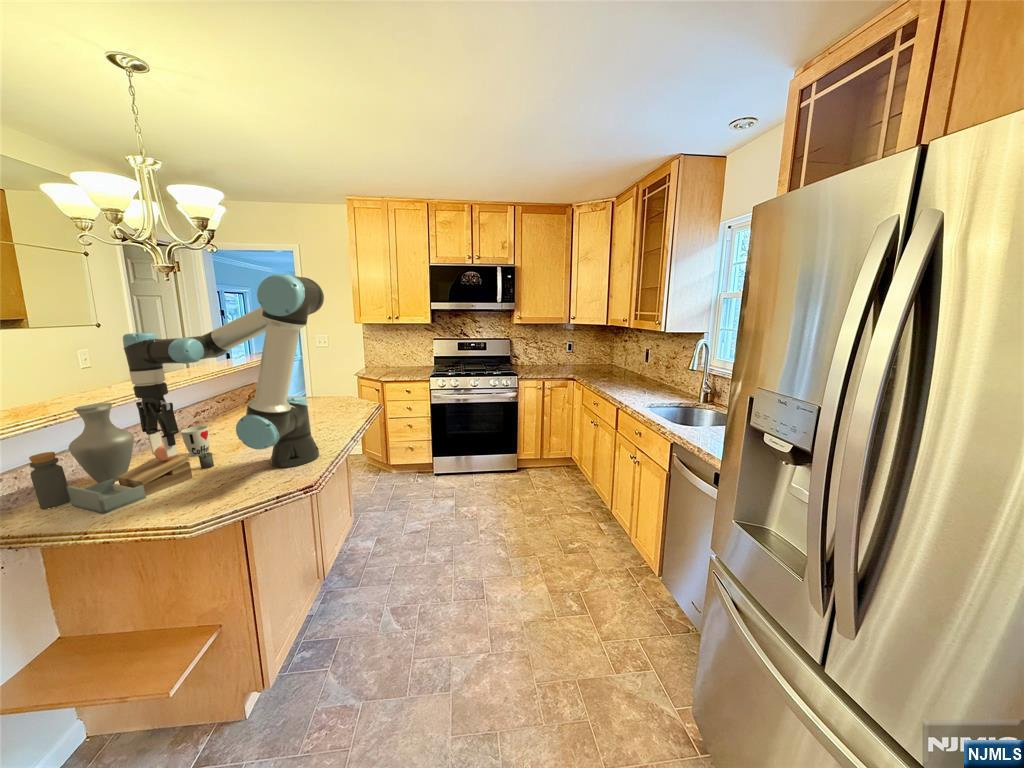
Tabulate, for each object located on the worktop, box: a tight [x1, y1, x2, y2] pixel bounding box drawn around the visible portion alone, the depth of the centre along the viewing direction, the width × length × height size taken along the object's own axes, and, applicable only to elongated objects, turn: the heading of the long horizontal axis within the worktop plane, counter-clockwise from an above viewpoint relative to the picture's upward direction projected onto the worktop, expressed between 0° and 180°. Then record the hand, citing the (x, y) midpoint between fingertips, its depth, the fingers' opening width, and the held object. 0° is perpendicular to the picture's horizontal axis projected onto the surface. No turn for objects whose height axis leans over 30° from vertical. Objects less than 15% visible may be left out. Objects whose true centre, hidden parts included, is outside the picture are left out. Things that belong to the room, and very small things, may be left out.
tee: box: [197, 451, 215, 470], centre depth 132 cm, size 4×4×5 cm
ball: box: [154, 444, 175, 461], centre depth 121 cm, size 5×5×5 cm
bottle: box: [28, 451, 71, 510], centre depth 107 cm, size 6×6×15 cm
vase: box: [68, 402, 135, 484], centre depth 122 cm, size 14×14×25 cm
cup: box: [180, 425, 211, 457], centre depth 145 cm, size 8×8×10 cm
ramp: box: [117, 454, 194, 497], centre depth 119 cm, size 12×13×7 cm
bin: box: [67, 479, 147, 515], centre depth 109 cm, size 15×10×6 cm, turn 71°
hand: (165, 454), depth 121 cm, fingers open, 6 cm apart
